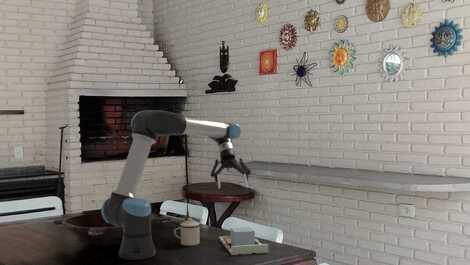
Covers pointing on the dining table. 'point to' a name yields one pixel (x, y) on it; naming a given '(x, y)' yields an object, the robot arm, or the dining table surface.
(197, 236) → the teacup with lid
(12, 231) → the dining table surface
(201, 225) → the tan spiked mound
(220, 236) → the tray
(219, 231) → the dining table surface
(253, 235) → the slate block
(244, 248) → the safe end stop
